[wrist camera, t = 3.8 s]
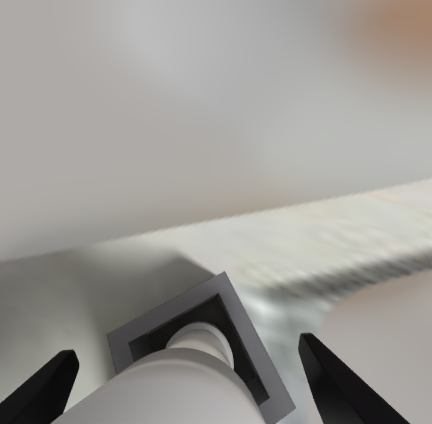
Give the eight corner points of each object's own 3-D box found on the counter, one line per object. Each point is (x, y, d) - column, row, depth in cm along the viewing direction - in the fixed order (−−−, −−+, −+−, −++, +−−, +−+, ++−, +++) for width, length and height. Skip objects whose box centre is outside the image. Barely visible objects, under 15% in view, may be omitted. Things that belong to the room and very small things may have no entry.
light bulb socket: (275, 383, 13) (296, 407, 10) (169, 458, 12) (153, 515, 8) (222, 278, 16) (224, 271, 13) (129, 328, 14) (106, 334, 11)
